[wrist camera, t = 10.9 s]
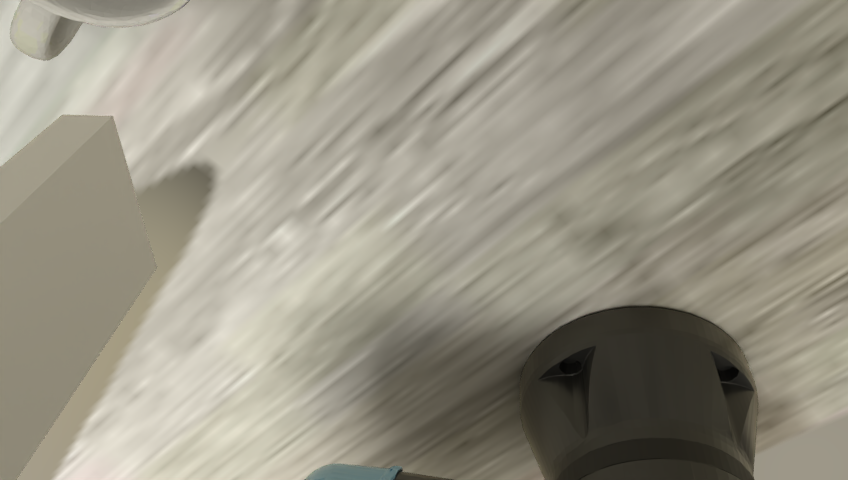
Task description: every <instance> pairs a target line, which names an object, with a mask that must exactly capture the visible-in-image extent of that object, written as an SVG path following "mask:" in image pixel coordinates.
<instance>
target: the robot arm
mask: <svg viewBox="0 0 848 480" xmlns="http://www.w3.org/2000/svg"><path fill="white" fill-rule="evenodd" d="M156 268H157V266H156V262H155V259H154V255H153V252H152V248H151V245H150V242H149V238H148V235H147V231H146V228H145V225H144V221H143V218H142V214H141V211H140V207H139V204H138V201H137V197H136V194H135V190H134V187H133V184H132V180H131V177H130V173H129V170H128V166H127V163H126V160H125V156H124V153H123V149H122V146H121V143H120V139H119V136H118V132H117V129H116V125H115V122H114V119H113V116H90V115H62V116H60V117H59V118H58V119H57V120H56V121H54V122H53V123H52V124H51V125H50V126H49V127H47V128H46V129H45V130H44V131H43V132H41V133H40V134H39V135H38V136H37V137H36V138H34V139H33V140H32V141H31V142H30V143H28V144H27V145H26V146H25V147H24V148H23V149H21V150H20V151H19V152H18V153H17V154H15V155H14V156H13V157H12V158H11V159H10V160H8V161H7V162H6V163H5V164H4V165H2V166H1V167H0V480H17V478H18V477H19V475H20V474H21V472H22V471H23V469H24V468H25V466H26V465H27V463H28V462H29V460H30V459H31V457H32V456H33V454H34V452H35V451H36V450H37V448H38V446H39V445H40V444H41V442H42V441H43V439H44V438H45V436H46V435H47V433H48V431H49V430H50V428H51V427H52V425H53V424H54V422H55V421H56V419H57V418H58V416H59V415H60V413H61V412H62V410H63V409H64V407H65V406H66V404H67V403H68V401H69V400H70V398H71V397H72V395H73V394H74V392H75V391H76V389H77V388H78V386H79V385H80V383H81V381H82V380H83V379H84V377H85V376H86V374H87V373H88V371H89V370H90V368H91V366H92V365H93V364H94V362H95V361H96V359H97V357H98V356H99V354H100V353H101V351H102V350H103V348H104V347H105V345H106V344H107V342H108V341H109V339H110V338H111V336H112V335H113V333H114V332H115V330H116V329H117V327H118V326H119V324H120V323H121V321H122V320H123V318H124V317H125V315H126V314H127V312H128V311H129V309H130V308H131V306H132V305H133V303H134V302H135V300H136V299H137V297H138V296H139V294H140V293H141V291H142V289H143V288H144V287H145V285H146V283H147V282H148V280H149V279H150V277H151V276H152V274H153V273H154V271H155V270H156ZM520 416H521V421H522V426H523V429H524V432H525V434H526V436H527V439H528V441H529V444H530V446H531V448H532V451H533V453H534V455H535V458H536V460H537V462H538V465H539V467H540V470H541V472H542V474H543V477H544V479H545V480H754V477H753V471H754V457H755V443H756V430H757V416H758V396H757V390H756V386H755V383H754V380H753V377H752V374H751V371H750V369H749V366H748V363H747V360H746V358H745V356H744V354H743V352H742V351H741V349H740V348H739V346H738V345H737V344H736V343H735V341H734V340H733V339H732V338H731V337H730V336H728V335H727V334H726V333H725V332H724V331H722V330H721V329H719V328H718V327H716V326H715V325H713V324H711V323H709V322H707V321H705V320H703V319H701V318H698V317H696V316H693V315H690V314H687V313H683V312H679V311H674V310H669V309H662V308H650V307H635V308H622V309H614V310H609V311H604V312H600V313H596V314H592V315H589V316H586V317H583V318H581V319H578V320H576V321H574V322H572V323H569V324H567V325H566V326H564V327H562V328H560V329H559V330H557V331H556V332H554V333H553V334H551V335H550V336H549V337H547V338H546V339H545V340H544V341H543V342H542V343H541V344H540V345H539V346H538V347H537V348H536V349H535V350H534V351H533V353H532V354H531V355H530V357H529V359H528V360H527V362H526V364H525V366H524V368H523V371H522V374H521V379H520ZM402 470H403V469H402V467H400V466H393V467H391V468H389V469H386V468H377V467H367V466H357V465H347V464H330V465H326V466H323V467H321V468H319V469H317V470H315V471H314V472H312V473H311V474H310V475H309V476H308V477H307V478H306V479H305V480H452V479H446V478H439V477H433V476H426V475H420V474H413V473H407V472H402Z"/></svg>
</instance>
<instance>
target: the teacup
mask: <svg viewBox="0 0 848 480" xmlns="http://www.w3.org/2000/svg"><path fill="white" fill-rule="evenodd" d="M189 1H190V0H21V1H20V4H19V6H18V8H17V10H16V12H15V14H14V17H13V20H12V23H11V28H10V38H11V41H12V43H13V44H14V45H15V47H16V48H17V49H19V50H20V51H21V52H23V53H24V54H26V55H28V56H30V57H32V58H35V59H39V60H44V61H45V60H50V59H52V58H54V57H56V56H58V55H59V54H60V53H61V52H62V51H63V50H64V48H65V47H66V46H67V45H68V44H69V43H70V41H71V40H72V39H73V37H74V36H75V34H76V32H77V31H78V29H79V28H80V26H81V24H82V23H87V24H91V25H95V26H101V27H122V28H123V27H132V26H141V25H145V24H149V23H152V22H155V21H158V20H161V19H163V18H165V17H167V16H169V15H171V14H173V13H174V12H176V11H178V10H179V9H181V8H182V7H183V6H185V5H186V4H187V3H188V2H189Z"/></svg>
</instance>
